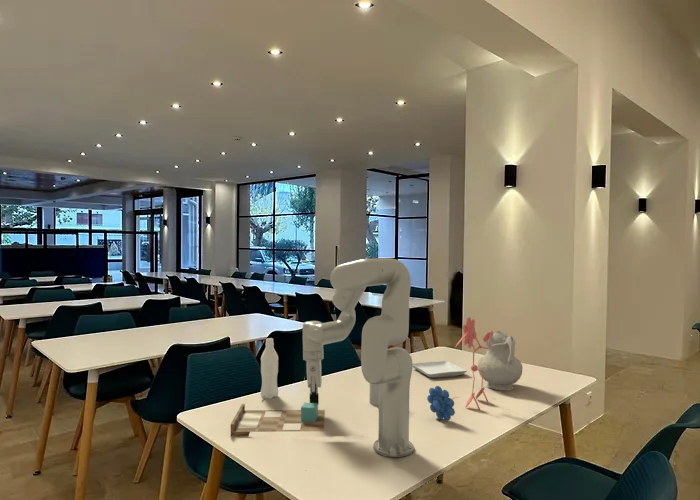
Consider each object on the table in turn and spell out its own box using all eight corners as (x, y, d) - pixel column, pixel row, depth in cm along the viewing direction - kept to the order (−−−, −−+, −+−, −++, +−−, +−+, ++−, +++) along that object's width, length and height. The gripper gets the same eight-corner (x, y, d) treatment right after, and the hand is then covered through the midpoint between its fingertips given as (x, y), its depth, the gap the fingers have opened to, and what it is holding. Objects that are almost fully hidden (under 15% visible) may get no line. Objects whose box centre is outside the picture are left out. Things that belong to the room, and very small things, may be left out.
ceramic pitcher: (534, 395, 205) (538, 337, 205) (498, 396, 198) (502, 337, 198) (501, 381, 225) (505, 329, 225) (467, 382, 218) (471, 328, 218)
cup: (388, 406, 186) (388, 376, 185) (367, 405, 187) (368, 375, 187) (390, 400, 194) (390, 371, 193) (371, 398, 195) (371, 370, 195)
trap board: (323, 435, 158) (323, 423, 157) (230, 436, 156) (230, 424, 156) (324, 413, 177) (324, 403, 177) (242, 414, 176) (242, 403, 176)
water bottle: (256, 400, 192) (257, 339, 192) (267, 395, 198) (268, 336, 198) (271, 403, 189) (271, 341, 188) (281, 398, 195) (282, 338, 195)
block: (314, 422, 165) (314, 408, 165) (301, 421, 166) (301, 407, 166) (317, 417, 170) (317, 403, 170) (304, 416, 171) (304, 402, 171)
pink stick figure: (498, 398, 196) (497, 314, 196) (473, 416, 176) (471, 322, 176) (464, 392, 206) (462, 312, 206) (436, 408, 185) (434, 319, 185)
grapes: (420, 418, 174) (420, 385, 174) (431, 413, 179) (431, 382, 178) (447, 426, 166) (448, 392, 166) (458, 421, 170) (458, 388, 170)
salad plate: (409, 369, 243) (409, 362, 243) (446, 366, 249) (446, 360, 249) (428, 381, 222) (428, 373, 222) (468, 377, 229) (468, 370, 229)
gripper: (323, 359, 166) (324, 411, 166) (323, 350, 181) (324, 398, 181) (301, 359, 166) (302, 411, 166) (304, 351, 181) (305, 398, 181)
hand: (314, 404), depth 174 cm, fingers closed
